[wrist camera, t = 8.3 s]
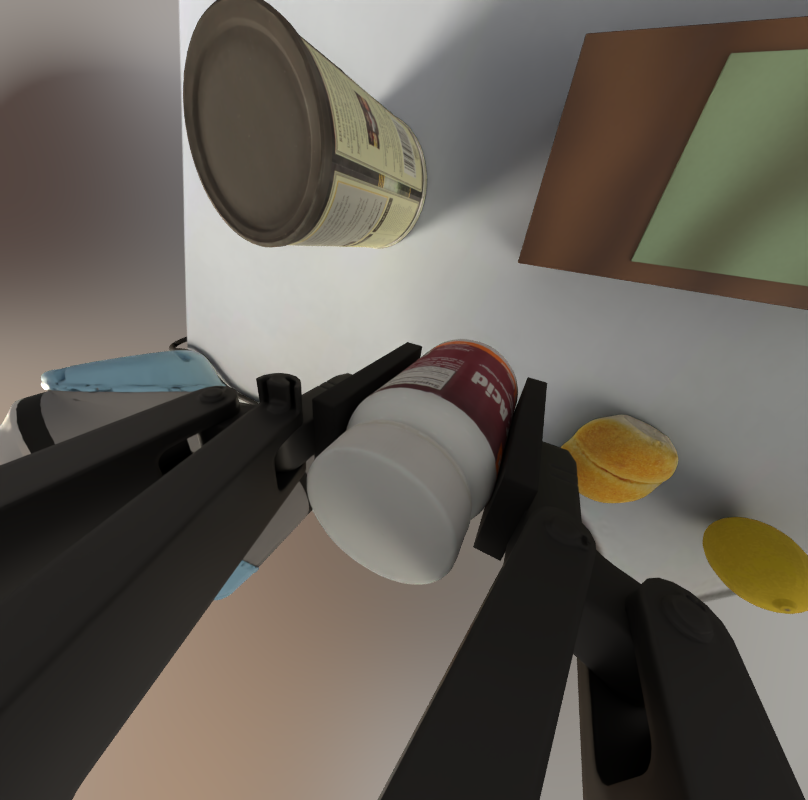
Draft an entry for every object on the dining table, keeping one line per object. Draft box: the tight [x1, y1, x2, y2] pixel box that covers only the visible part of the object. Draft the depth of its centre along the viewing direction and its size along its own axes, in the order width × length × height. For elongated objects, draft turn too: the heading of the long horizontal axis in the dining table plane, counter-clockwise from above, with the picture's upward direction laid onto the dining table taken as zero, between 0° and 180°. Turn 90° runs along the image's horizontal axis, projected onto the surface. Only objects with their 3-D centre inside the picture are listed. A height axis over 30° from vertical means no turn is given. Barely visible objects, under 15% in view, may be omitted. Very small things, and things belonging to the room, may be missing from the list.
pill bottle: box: [307, 339, 518, 584], centre depth 10 cm, size 5×5×8 cm
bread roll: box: [561, 415, 678, 503], centre depth 26 cm, size 8×9×4 cm
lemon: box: [703, 517, 808, 614], centre depth 23 cm, size 6×6×8 cm
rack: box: [518, 16, 808, 310], centre depth 16 cm, size 20×10×7 cm, turn 83°
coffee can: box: [183, 0, 427, 248], centre depth 21 cm, size 10×10×14 cm
